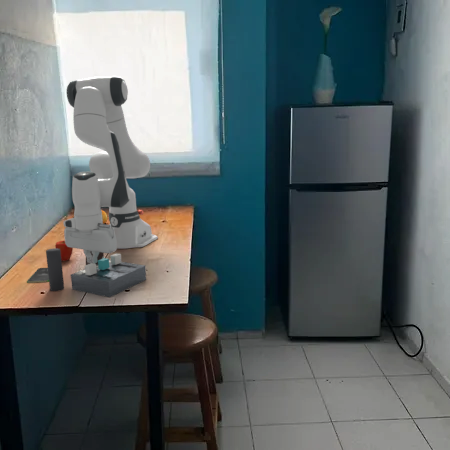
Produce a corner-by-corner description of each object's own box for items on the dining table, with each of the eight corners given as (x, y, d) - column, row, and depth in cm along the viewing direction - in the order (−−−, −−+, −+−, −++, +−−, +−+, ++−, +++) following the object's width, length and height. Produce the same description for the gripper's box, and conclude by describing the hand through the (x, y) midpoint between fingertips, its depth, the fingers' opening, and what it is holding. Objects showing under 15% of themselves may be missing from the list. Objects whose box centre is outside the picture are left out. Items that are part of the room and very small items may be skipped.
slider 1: (92, 271, 173) (91, 263, 172) (96, 272, 172) (96, 263, 171) (85, 274, 170) (84, 265, 169) (90, 275, 169) (89, 266, 168)
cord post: (57, 285, 177) (53, 247, 174) (67, 287, 174) (63, 249, 171) (47, 289, 173) (42, 251, 170) (56, 291, 171) (52, 252, 168)
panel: (110, 273, 188) (108, 259, 186) (146, 279, 180) (145, 264, 179) (72, 289, 173) (70, 274, 171) (109, 297, 165) (108, 281, 164)
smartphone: (25, 281, 180) (38, 267, 194) (26, 284, 180) (38, 270, 195) (48, 280, 180) (59, 266, 195) (48, 283, 180) (59, 269, 195)
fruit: (96, 222, 255) (100, 206, 258) (84, 222, 260) (88, 207, 262) (108, 228, 262) (112, 212, 264) (96, 227, 266) (100, 212, 268)
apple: (77, 258, 206) (75, 240, 204) (65, 263, 201) (63, 243, 199) (65, 256, 209) (63, 238, 208) (53, 260, 204) (51, 242, 202)
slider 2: (116, 261, 183) (116, 253, 182) (121, 262, 182) (120, 254, 181) (111, 264, 180) (110, 255, 180) (115, 264, 179) (114, 256, 179)
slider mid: (104, 266, 178) (104, 258, 177) (109, 267, 177) (108, 258, 176) (98, 269, 175) (97, 260, 175) (103, 270, 174) (102, 261, 174)
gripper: (119, 222, 172) (122, 263, 176) (73, 217, 182) (77, 256, 186) (106, 227, 167) (109, 269, 170) (59, 221, 177) (63, 261, 180)
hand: (92, 262), depth 178 cm, fingers closed
